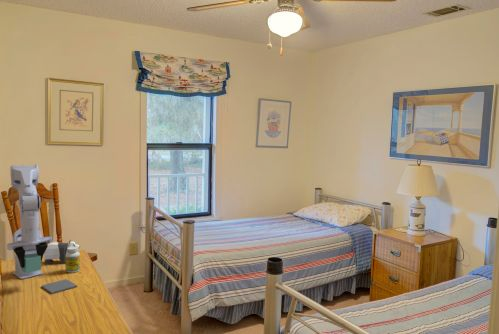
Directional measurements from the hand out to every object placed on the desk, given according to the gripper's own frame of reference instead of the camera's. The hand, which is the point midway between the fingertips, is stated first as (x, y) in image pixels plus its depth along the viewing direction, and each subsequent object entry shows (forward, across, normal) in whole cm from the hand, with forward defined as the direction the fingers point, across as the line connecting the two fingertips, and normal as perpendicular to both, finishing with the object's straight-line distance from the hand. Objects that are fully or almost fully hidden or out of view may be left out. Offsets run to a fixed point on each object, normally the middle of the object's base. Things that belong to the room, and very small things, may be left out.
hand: (30, 265), depth 143 cm
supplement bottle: (+8, +18, +6) cm, 21 cm away
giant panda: (+8, +19, +20) cm, 29 cm away
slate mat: (+8, +7, -7) cm, 13 cm away
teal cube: (+2, 0, 0) cm, 2 cm away
